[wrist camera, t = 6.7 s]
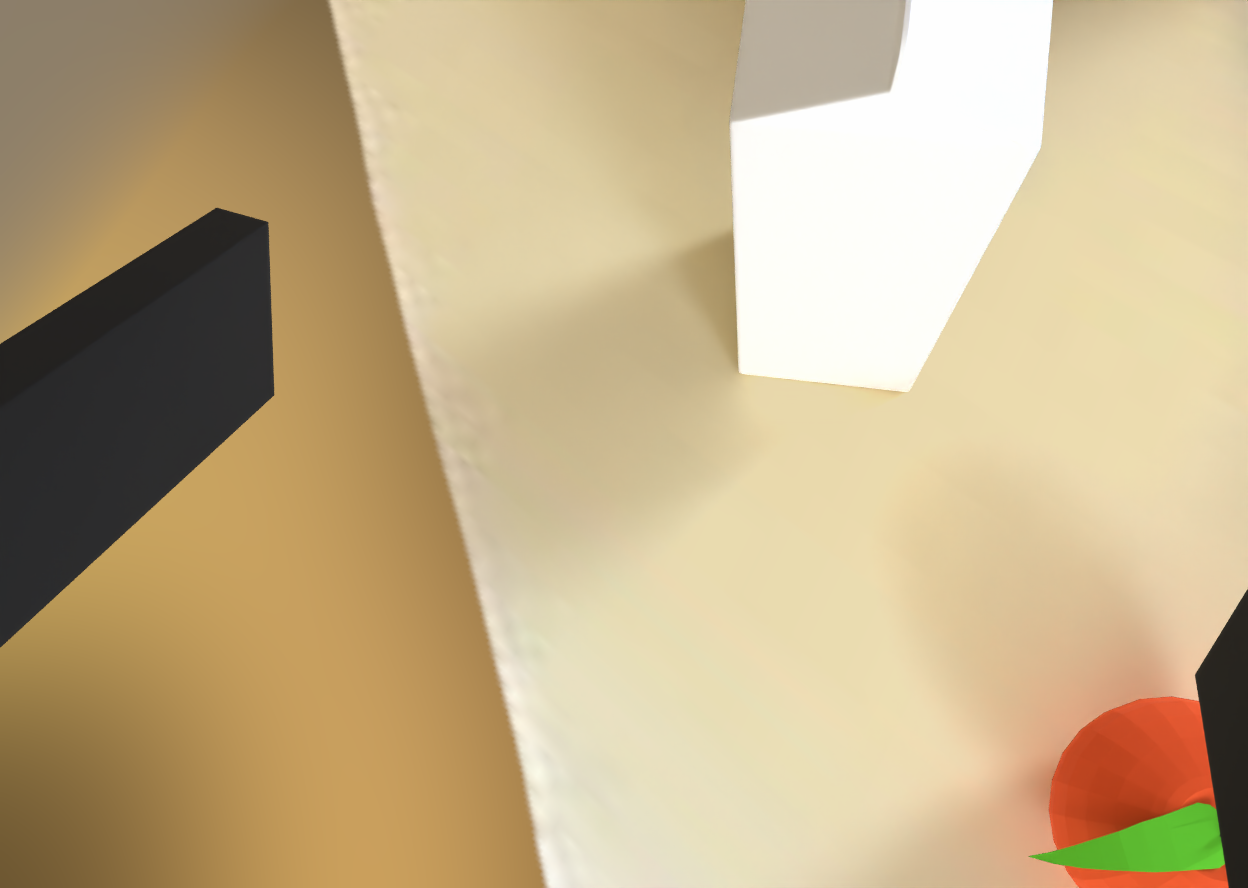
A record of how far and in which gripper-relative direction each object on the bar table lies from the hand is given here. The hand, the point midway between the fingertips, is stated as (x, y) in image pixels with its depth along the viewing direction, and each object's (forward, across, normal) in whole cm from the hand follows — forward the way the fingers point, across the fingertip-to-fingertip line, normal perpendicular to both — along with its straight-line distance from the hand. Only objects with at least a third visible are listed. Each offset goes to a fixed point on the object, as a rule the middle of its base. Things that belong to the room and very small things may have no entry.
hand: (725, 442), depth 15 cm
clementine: (+16, +14, -20) cm, 29 cm away
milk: (+26, 0, -10) cm, 28 cm away
